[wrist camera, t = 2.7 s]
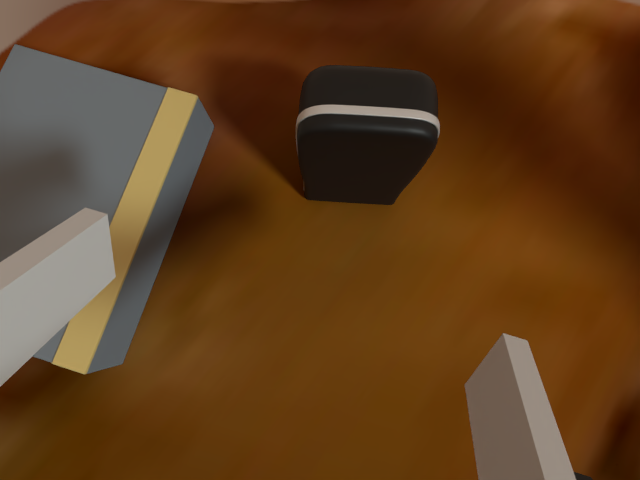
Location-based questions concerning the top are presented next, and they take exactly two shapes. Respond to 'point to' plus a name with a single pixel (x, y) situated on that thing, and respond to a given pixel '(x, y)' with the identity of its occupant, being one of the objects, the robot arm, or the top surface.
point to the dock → (96, 182)
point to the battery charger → (364, 132)
